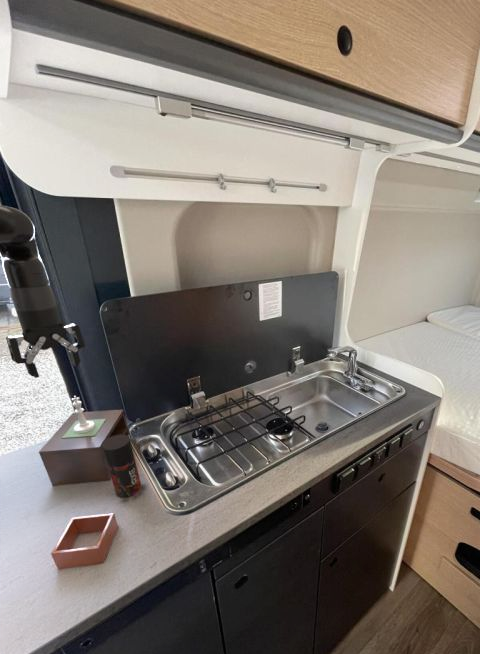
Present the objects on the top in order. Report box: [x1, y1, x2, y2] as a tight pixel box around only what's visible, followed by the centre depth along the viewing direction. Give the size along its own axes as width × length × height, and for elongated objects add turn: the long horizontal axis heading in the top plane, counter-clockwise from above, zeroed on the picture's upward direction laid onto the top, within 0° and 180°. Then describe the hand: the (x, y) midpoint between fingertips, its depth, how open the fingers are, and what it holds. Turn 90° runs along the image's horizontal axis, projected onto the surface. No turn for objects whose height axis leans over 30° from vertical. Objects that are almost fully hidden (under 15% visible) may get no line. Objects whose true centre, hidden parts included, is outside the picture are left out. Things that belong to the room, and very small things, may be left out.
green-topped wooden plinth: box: [38, 409, 130, 486], centre depth 92 cm, size 14×18×11 cm
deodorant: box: [102, 435, 142, 499], centre depth 81 cm, size 6×6×15 cm
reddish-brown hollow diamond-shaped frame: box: [50, 512, 119, 570], centre depth 68 cm, size 9×9×4 cm
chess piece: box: [71, 395, 95, 433], centre depth 87 cm, size 5×5×10 cm
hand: (56, 370), depth 80 cm, fingers open, 8 cm apart
